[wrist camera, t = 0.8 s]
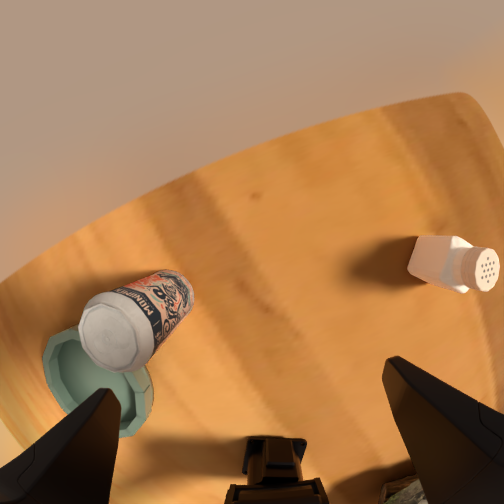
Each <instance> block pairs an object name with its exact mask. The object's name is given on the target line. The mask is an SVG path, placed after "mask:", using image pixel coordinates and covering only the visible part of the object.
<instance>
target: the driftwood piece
mask: <svg viewBox="0 0 504 504" xmlns="http://www.w3.org/2000/svg"><path fill="white" fill-rule="evenodd" d="M378 504H428V502H427V499H426V497H425V494H424V491H423V488H422V486H421V483H420V481H419V478H418V475H417V474H415V475H414V476H408V477H405V478H402V479H398V480H395V481H392V482H389V483H385V484H384V485H382V488H381V493H380V497H379V502H378Z"/></svg>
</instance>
